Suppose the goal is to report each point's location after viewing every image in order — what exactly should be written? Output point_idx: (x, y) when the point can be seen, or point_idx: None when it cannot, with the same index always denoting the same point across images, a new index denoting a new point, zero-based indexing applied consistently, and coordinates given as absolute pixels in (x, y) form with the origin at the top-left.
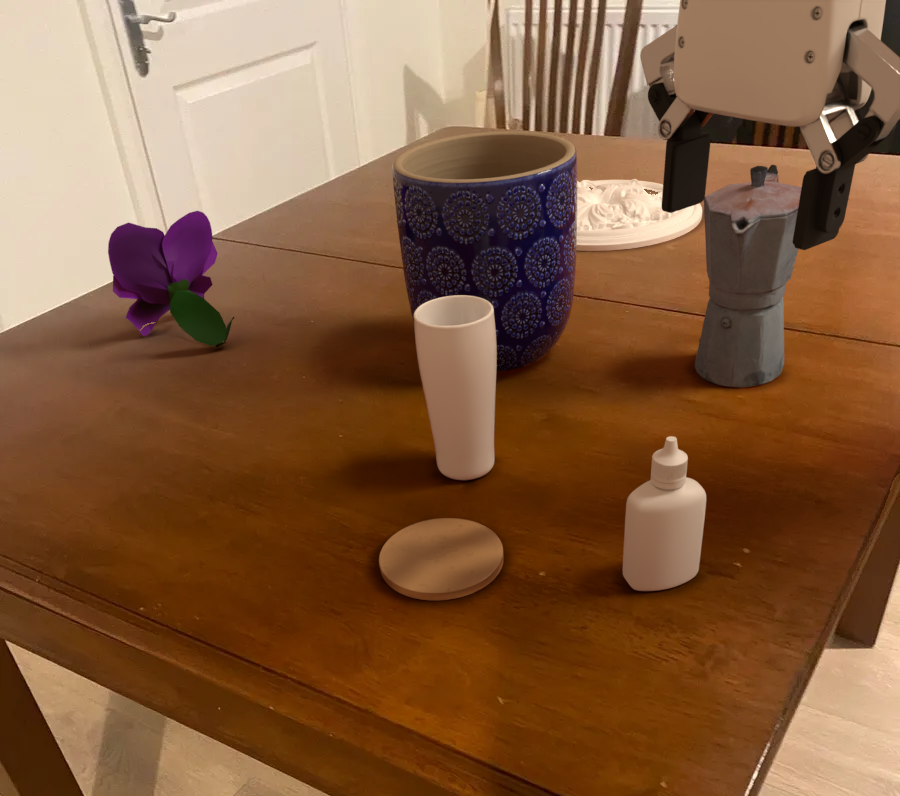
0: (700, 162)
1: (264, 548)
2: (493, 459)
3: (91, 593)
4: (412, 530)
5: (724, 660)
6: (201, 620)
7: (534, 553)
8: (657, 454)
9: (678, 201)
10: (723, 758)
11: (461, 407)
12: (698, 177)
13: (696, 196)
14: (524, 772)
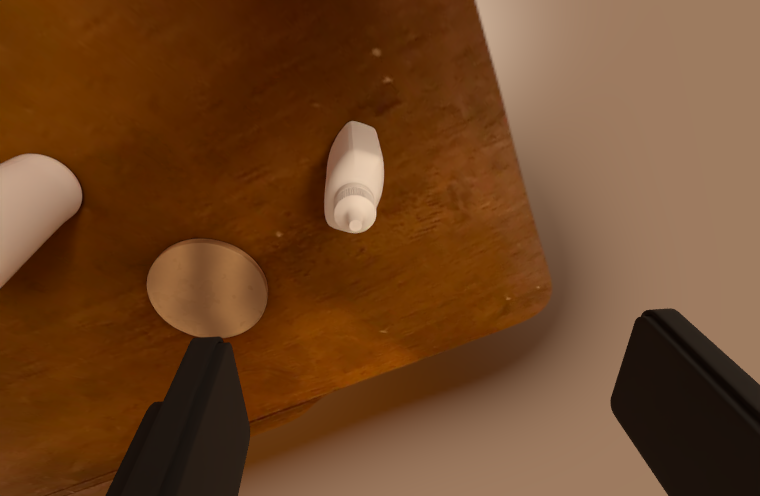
0: (204, 459)
1: (109, 381)
2: (61, 169)
3: (109, 472)
4: (157, 295)
5: (467, 192)
6: None
7: (247, 222)
8: (345, 227)
9: (242, 433)
10: (524, 259)
11: (28, 255)
12: (218, 421)
13: (230, 378)
14: (441, 349)
